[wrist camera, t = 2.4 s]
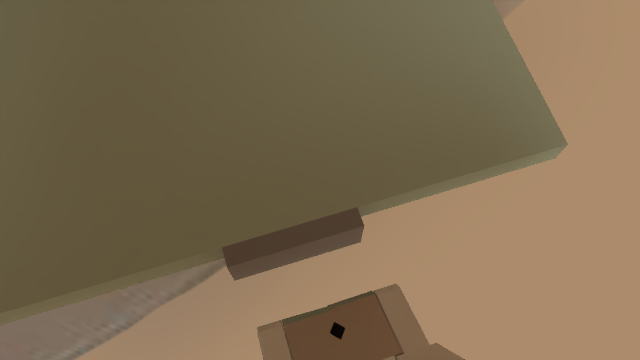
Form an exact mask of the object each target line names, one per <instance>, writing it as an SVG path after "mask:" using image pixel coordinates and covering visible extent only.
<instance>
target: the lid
mask: <svg viewBox="0 0 640 360" xmlns="http://www.w3.org/2000/svg"><path fill="white" fill-rule="evenodd" d="M566 146H567V142H566V140H565V138H564V136H563V134H562V132H561V130H560V128H559V127H558V125H557V123H556V121H555V119H554V117H553V115H552V113H551V112H550V110H549V108H548V106H547V104H546V102H545V100H544V98H543V96H542V94H541V93H540V91H539V89H538V87H537V85H536V83H535V81H534V79H533V77H532V75H531V74H530V72H529V70H528V68H527V66H526V64H525V62H524V60H523V58H522V57H521V55H520V53H519V51H518V49H517V47H516V45H515V43H514V41H513V39H512V38H511V36H510V34H509V32H508V30H507V28H506V26H505V25H504V22H503V20H502V19H501V17H500V15H499V13H498V11H497V9H496V7H495V5H494V3H493V2H492V0H0V325H2V324H5V323H8V322H12V321H15V320H18V319H22V318H25V317H28V316H32V315H35V314H38V313H42V312H45V311H48V310H52V309H55V308H58V307H62V306H65V305H68V304H72V303H75V302H78V301H82V300H85V299H88V298H92V297H95V296H98V295H102V294H105V293H108V292H112V291H115V290H118V289H122V288H125V287H128V286H132V285H135V284H138V283H142V282H145V281H148V280H152V279H155V278H158V277H162V276H165V275H168V274H171V273H175V272H178V271H181V270H185V269H188V268H191V267H195V266H198V265H201V264H205V263H208V262H211V261H215V260H218V259H221V258H225V261H226V265H227V268H228V270H229V271H230V273H231V275H232V277H233V278H234V280H238V279H241V278H244V277H248V276H251V275H255V274H258V273H261V272H264V271H268V270H271V269H274V268H277V267H281V266H283V265H287V264H290V263H294V262H297V261H300V260H304V259H307V258H310V257H313V256H317V255H320V254H323V253H326V252H330V251H333V250H336V249H340V248H343V247H346V246H349V245H352V244H356V243H359V242H361V237H362V232H363V229H364V224H363V221H362V219H361V216H364V215H368V214H371V213H374V212H378V211H381V210H384V209H388V208H391V207H394V206H398V205H401V204H404V203H408V202H411V201H414V200H418V199H421V198H424V197H427V196H431V195H434V194H438V193H441V192H444V191H447V190H451V189H454V188H458V187H461V186H464V185H467V184H471V183H474V182H478V181H480V180H484V179H487V178H491V177H494V176H497V175H501V174H504V173H507V172H511V171H514V170H517V169H521V168H524V167H527V166H531V165H534V164H537V163H541V162H544V161H547V160H550V159H554V158H556V157H557V156H558V154H560V152H561V151H562V150H563V149H564V148H565V147H566Z"/></svg>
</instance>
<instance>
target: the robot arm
mask: <svg viewBox="0 0 640 360" xmlns="http://www.w3.org/2000/svg"><path fill="white" fill-rule="evenodd" d="M282 323H283V324H282ZM283 327H284V328H283ZM257 329H258V338H259V342H260V346H261V350H262V355H263V359H264V360H465V359H463V358H461V357H460V356H458V355H456V354H455V353H453V352H451V351H449V350H448V349H446V348H444V347H442V346H441V345H439V344H437V343H435V344H431V345H430V344H429V343H428V341H427V339H426V337H425V335H424V333H423V331H422V329H421V327H420V325H419V323H418V321H417V319H416V318H415V316H414V314H413V312H412V310H411V308H410V306H409V304H408V302H407V300H406V298H405V296H404V295H403V293H402V291H401V289H400V287H399V286H398V285H397V284H393V285H390V286H388V287H384V288H381V289H378V290H375V291H373V292H372V291H370V292H367V293H364V294H361V295H358V296H355V297H352V298H349V299H346V300H343V301H340V302H337V303H334V304H331V305H328V306H327V307H324V308H321V309H317V310H314V311H311V312H307V313H303V314H300V315H297V316H293V317H290V318H286V319H283V320H282V321H281V320H280V321H277V322H274V323H270V324H267V325H263V326H260V327H258V328H257ZM284 330H285V331H284Z"/></svg>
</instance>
